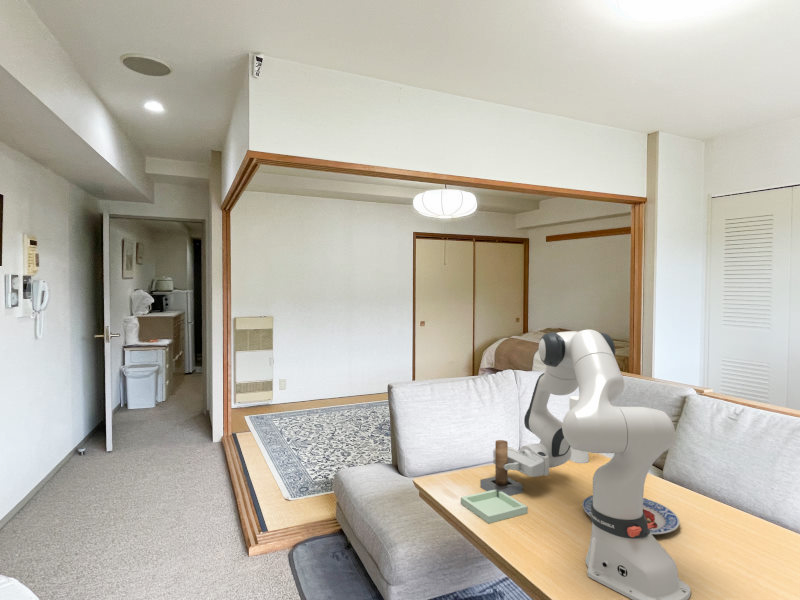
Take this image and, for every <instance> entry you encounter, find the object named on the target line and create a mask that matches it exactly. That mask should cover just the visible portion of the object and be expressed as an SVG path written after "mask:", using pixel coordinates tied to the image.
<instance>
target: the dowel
mask: <svg viewBox="0 0 800 600" xmlns="http://www.w3.org/2000/svg"><path fill="white" fill-rule="evenodd" d="M508 444H509V443H508V441H507V440H503V439H498V440H495V448H494V449H495V464H494V465H495V467H494V469H495V474H494V475H495V476H494V477H495V484H497V485H498V486H504V485H508V477H509V476H508V474H509V472H508V471H509V470H505V469H504V468H503V464H504V463H508V447H509V445H508Z"/></svg>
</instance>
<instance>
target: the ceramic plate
mask: <svg viewBox="0 0 800 600" xmlns="http://www.w3.org/2000/svg"><path fill="white" fill-rule="evenodd" d="M592 503H593V494H592V495H590V496H588V497H586V498H584V500H583V501H582V508H583V511H584V513H586V514H587V516H589V517H590V518H591V504H592ZM643 512H644V514H645V517H646V519H647V522H648V523H651V522H654V524H653V525H651V526H654V527H652V528H650V533H651V534H652V535H663V534H664V535H665V534H668V533H672V532H674V531H676V530H677V529H678V528H679V526H680V519H679V517H678V515H677V514H676V513H675V512H674V511H673V510H671V509H669V508H668V507H667V506H665V505H663V504H661V503H658V502H657V501H653V500H651V499H647V498H644V497H643Z"/></svg>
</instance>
